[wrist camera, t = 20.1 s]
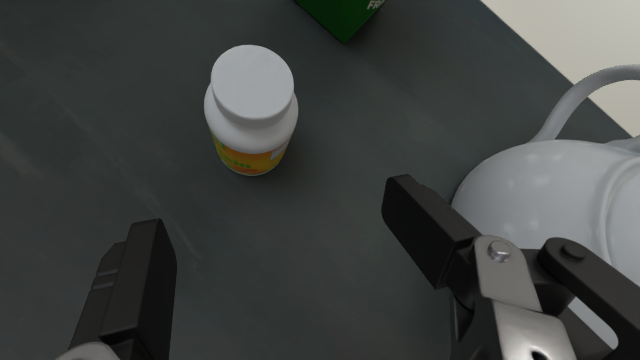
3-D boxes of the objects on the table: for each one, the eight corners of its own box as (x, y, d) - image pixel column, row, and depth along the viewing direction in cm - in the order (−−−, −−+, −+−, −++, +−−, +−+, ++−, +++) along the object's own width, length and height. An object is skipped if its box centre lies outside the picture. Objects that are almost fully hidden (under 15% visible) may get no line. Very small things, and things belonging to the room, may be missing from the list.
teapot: (617, 252, 30) (896, 260, 17) (525, 396, 24) (842, 573, 11) (505, 113, 30) (698, 18, 17) (389, 223, 25) (546, 204, 12)
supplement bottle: (200, 148, 22) (167, 82, 13) (245, 100, 24) (244, 11, 14) (257, 190, 22) (263, 155, 13) (297, 140, 24) (328, 79, 15)
